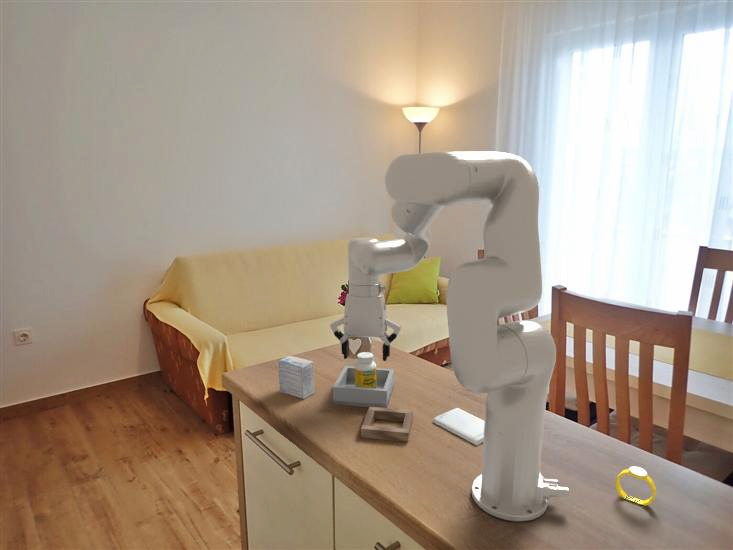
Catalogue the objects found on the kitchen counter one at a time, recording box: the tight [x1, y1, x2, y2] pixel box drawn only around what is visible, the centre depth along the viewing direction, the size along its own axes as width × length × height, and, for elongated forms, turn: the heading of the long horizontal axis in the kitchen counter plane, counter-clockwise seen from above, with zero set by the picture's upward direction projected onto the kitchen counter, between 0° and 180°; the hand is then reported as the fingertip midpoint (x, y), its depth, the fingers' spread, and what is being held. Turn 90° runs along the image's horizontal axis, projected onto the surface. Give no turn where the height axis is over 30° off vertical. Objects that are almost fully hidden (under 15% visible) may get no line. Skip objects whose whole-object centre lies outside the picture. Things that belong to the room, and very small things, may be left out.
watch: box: [615, 465, 657, 507], centre depth 87 cm, size 6×3×6 cm, turn 51°
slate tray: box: [332, 365, 395, 408], centre depth 127 cm, size 13×13×4 cm
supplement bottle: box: [354, 351, 377, 388], centre depth 127 cm, size 5×5×10 cm
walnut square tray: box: [360, 407, 414, 442], centre depth 112 cm, size 10×10×2 cm
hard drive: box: [432, 407, 485, 446], centre depth 112 cm, size 2×8×12 cm
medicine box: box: [278, 355, 315, 400], centre depth 128 cm, size 8×4×9 cm, turn 58°
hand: (365, 358), depth 125 cm, fingers open, 9 cm apart
